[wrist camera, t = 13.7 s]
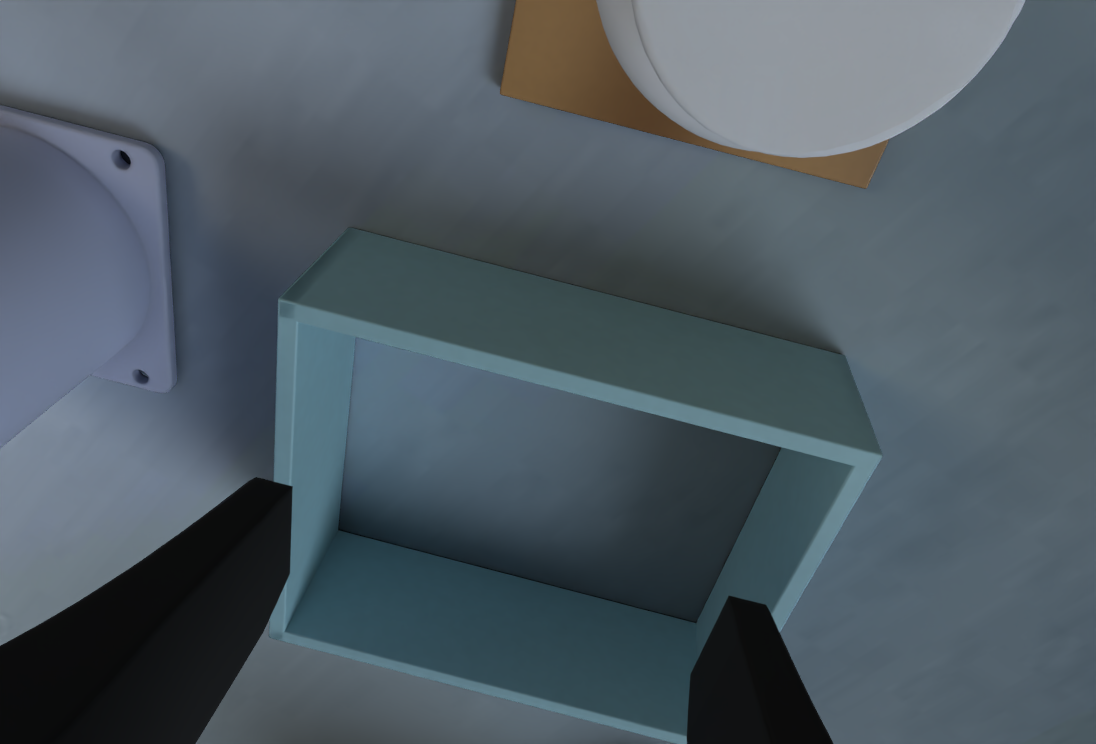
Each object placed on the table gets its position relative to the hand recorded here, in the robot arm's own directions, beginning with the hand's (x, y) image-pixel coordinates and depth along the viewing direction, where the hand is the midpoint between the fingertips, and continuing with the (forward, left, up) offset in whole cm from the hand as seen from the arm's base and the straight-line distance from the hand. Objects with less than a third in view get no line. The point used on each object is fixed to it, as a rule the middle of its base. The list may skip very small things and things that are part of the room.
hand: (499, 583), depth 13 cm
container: (+1, -5, -10) cm, 12 cm away
